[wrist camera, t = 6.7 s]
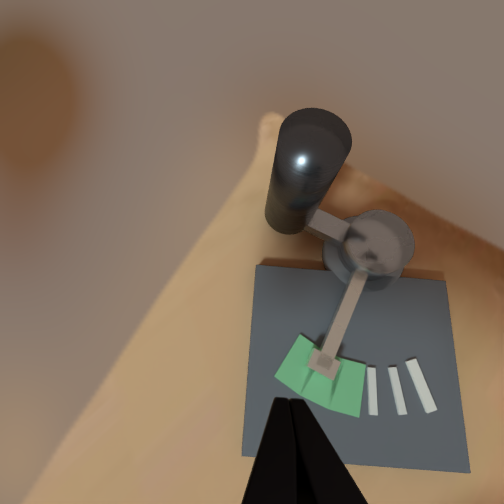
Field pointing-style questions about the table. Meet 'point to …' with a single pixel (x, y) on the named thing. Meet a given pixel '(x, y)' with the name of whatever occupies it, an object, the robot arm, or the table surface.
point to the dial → (330, 216)
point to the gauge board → (360, 365)
